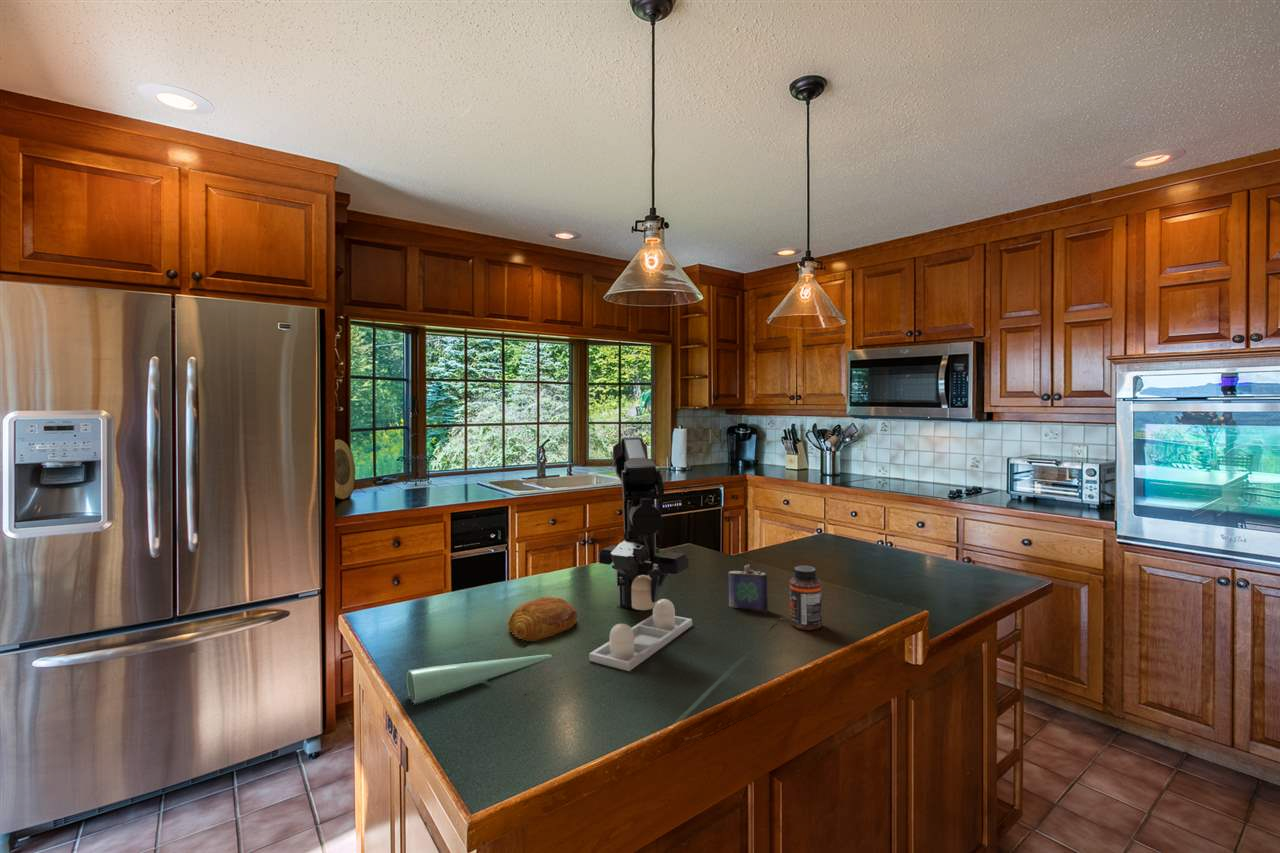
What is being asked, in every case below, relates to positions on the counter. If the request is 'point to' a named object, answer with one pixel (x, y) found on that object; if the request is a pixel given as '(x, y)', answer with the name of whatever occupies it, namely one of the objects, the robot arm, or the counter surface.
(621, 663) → the egg carton
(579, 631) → the counter surface
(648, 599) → the tan egg
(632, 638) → the cream egg
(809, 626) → the supplement bottle
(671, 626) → the cream egg
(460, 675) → the long green cone
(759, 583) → the flask
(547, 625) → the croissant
